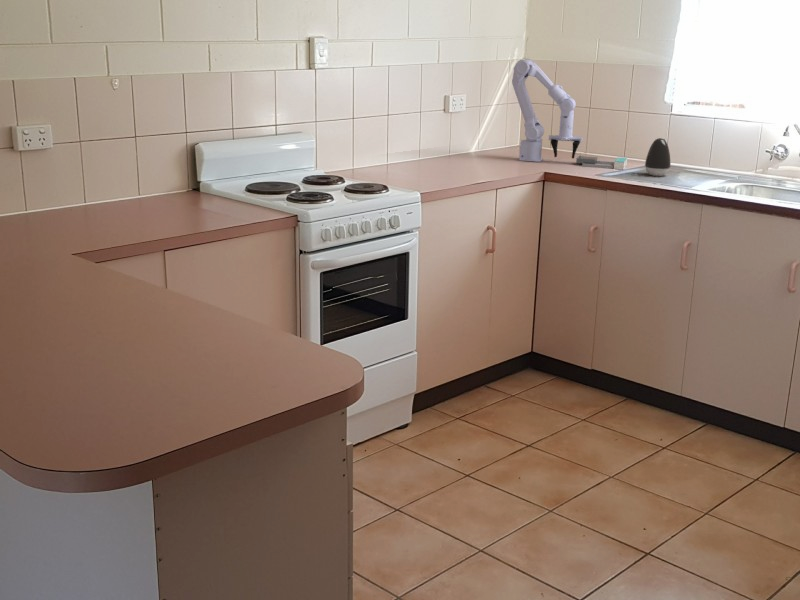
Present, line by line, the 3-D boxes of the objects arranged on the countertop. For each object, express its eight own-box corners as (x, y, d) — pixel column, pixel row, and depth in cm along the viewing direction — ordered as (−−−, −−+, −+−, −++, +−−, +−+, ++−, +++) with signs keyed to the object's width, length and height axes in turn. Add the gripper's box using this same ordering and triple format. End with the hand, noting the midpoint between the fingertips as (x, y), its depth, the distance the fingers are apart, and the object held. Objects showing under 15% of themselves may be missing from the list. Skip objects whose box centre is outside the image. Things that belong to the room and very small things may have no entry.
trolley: (576, 165, 405) (576, 154, 404) (578, 162, 412) (579, 152, 410) (594, 166, 403) (595, 156, 401) (596, 164, 409) (597, 154, 408)
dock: (582, 166, 402) (582, 159, 401) (586, 162, 413) (586, 155, 412) (623, 169, 397) (623, 162, 396) (626, 165, 407) (627, 158, 406)
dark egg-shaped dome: (672, 174, 386) (676, 138, 382) (665, 178, 378) (669, 140, 373) (648, 172, 392) (652, 135, 387) (640, 175, 383) (644, 138, 379)
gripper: (548, 126, 404) (546, 157, 408) (581, 128, 400) (579, 159, 404) (551, 124, 410) (549, 155, 415) (584, 126, 406) (581, 157, 410)
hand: (564, 157), depth 409 cm, fingers open, 7 cm apart
